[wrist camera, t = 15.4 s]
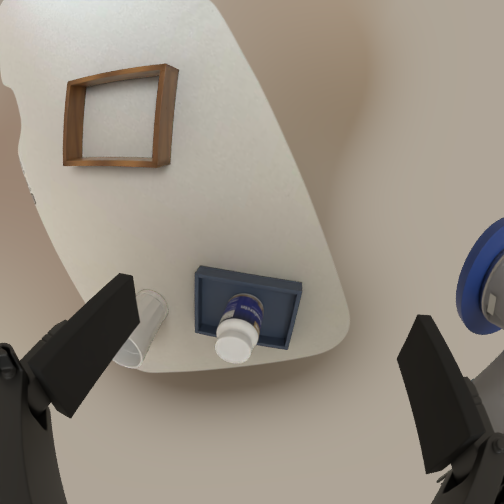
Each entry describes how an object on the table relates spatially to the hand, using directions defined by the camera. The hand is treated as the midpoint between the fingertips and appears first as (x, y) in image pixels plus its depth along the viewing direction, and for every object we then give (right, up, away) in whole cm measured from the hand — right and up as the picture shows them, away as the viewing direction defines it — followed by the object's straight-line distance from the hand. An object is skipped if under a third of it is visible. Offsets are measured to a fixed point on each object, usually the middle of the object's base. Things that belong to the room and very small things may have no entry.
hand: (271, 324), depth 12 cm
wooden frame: (-20, +23, +22) cm, 37 cm away
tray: (-2, -5, +31) cm, 32 cm away
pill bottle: (-2, -5, +31) cm, 31 cm away
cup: (-18, -6, +35) cm, 40 cm away
